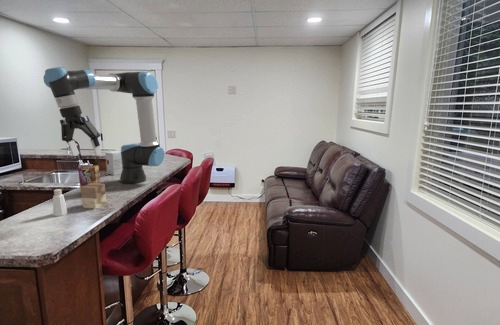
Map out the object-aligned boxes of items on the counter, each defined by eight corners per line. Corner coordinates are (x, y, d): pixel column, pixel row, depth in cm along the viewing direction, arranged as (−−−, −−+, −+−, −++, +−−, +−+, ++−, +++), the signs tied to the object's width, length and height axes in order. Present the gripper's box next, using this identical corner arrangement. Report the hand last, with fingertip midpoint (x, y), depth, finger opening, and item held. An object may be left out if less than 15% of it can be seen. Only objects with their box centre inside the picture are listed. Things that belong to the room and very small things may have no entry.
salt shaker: (70, 211, 127) (67, 187, 125) (63, 216, 122) (60, 191, 120) (58, 211, 127) (55, 187, 125) (50, 216, 122) (46, 191, 120)
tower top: (91, 193, 138) (90, 183, 137) (105, 193, 137) (104, 183, 136) (82, 197, 131) (80, 187, 130) (96, 198, 131) (95, 187, 130)
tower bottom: (94, 202, 140) (93, 192, 139) (106, 204, 138) (105, 194, 137) (82, 207, 133) (81, 197, 132) (95, 209, 131) (94, 198, 130)
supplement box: (106, 173, 197) (104, 151, 194) (118, 171, 204) (117, 150, 201) (113, 175, 192) (112, 153, 189) (126, 173, 199) (124, 151, 196)
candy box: (101, 193, 154) (99, 165, 151) (97, 195, 150) (94, 167, 147) (85, 192, 154) (82, 165, 151) (80, 195, 150) (77, 166, 147)
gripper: (40, 111, 120) (60, 158, 128) (83, 105, 111) (102, 156, 119) (56, 107, 127) (74, 152, 134) (98, 101, 118) (115, 150, 125)
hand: (87, 154), depth 127 cm, fingers open, 13 cm apart
